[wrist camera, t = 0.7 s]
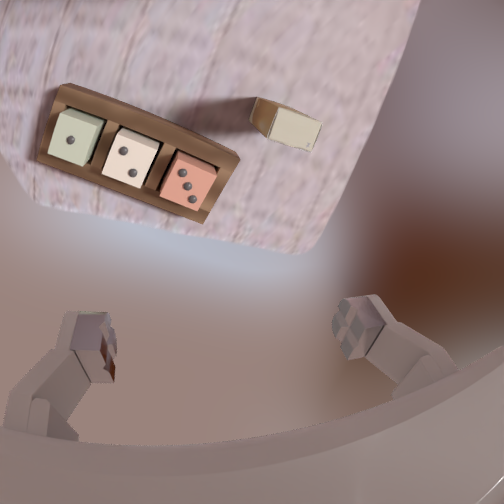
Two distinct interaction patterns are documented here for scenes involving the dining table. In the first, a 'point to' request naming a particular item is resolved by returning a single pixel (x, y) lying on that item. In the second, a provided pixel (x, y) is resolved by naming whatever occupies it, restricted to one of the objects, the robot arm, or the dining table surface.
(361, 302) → the robot arm
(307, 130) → the skincare box
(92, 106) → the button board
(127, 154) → the tile
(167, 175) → the three-pip tile
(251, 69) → the dining table surface
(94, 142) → the tile
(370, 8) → the dining table surface
